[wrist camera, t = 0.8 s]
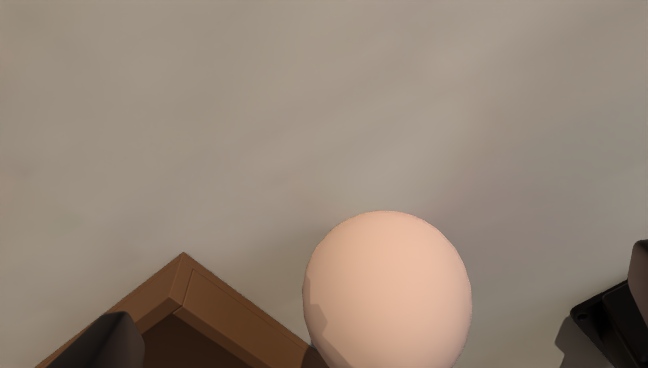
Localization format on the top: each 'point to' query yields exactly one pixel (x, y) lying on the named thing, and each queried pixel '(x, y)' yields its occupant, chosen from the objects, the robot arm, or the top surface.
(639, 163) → the top surface
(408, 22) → the top surface
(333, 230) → the egg
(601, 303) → the robot arm
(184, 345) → the tray
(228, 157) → the top surface
